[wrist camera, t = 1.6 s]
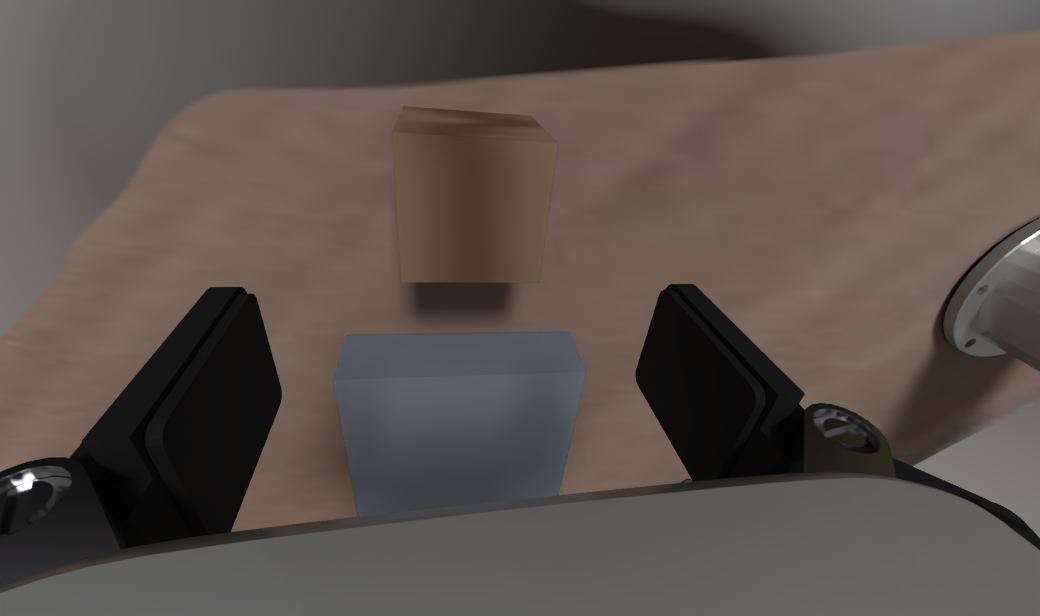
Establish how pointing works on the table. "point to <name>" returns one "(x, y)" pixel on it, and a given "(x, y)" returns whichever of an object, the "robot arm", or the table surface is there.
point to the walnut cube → (471, 195)
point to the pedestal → (456, 417)
